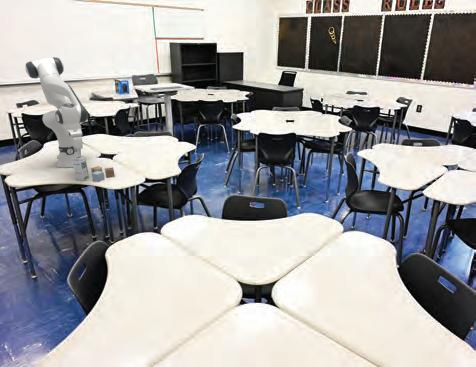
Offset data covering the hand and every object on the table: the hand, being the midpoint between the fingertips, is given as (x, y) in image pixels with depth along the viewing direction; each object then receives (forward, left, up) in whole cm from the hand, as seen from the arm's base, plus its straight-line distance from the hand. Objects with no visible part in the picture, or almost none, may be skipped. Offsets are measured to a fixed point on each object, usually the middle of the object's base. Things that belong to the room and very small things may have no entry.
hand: (77, 153), depth 216 cm
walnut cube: (+5, +16, -17) cm, 24 cm away
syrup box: (0, 0, -17) cm, 17 cm away
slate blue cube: (+8, +8, -17) cm, 20 cm away
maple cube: (-3, +10, -17) cm, 20 cm away
